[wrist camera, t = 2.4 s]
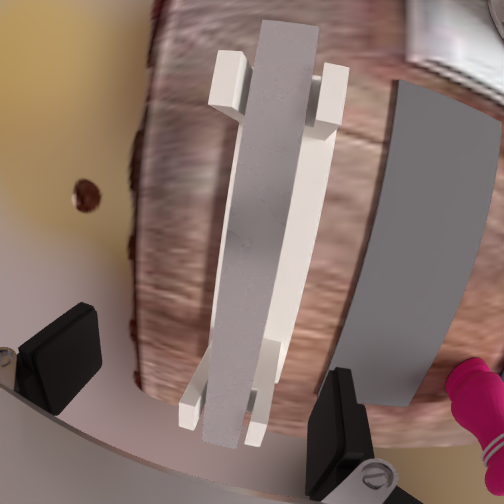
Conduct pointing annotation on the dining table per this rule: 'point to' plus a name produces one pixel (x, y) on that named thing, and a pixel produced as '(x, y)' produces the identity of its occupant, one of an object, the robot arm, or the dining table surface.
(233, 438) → the rail
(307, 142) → the rail stand
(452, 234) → the mat
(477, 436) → the pepper mill
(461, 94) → the dining table surface
